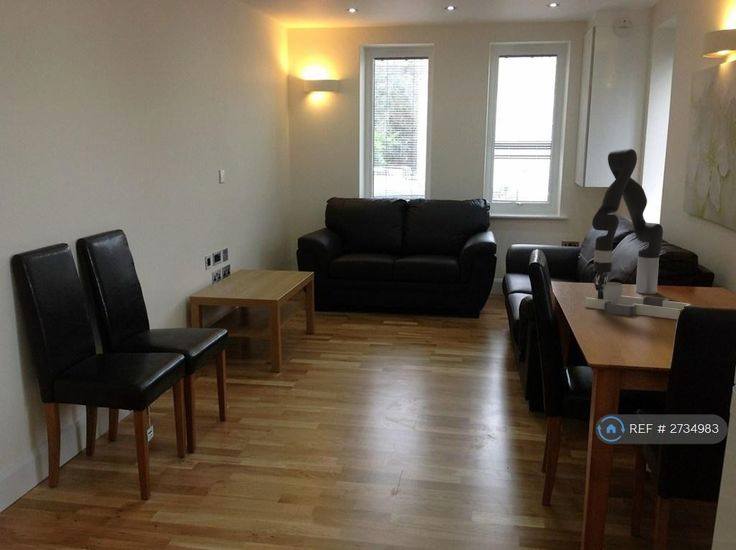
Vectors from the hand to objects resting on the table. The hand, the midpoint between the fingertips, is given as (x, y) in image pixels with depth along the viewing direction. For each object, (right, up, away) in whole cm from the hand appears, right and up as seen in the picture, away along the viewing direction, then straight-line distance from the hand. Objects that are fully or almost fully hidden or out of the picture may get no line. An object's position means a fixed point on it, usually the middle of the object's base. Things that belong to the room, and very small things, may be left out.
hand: (600, 299), depth 282 cm
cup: (+4, -3, -2) cm, 6 cm away
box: (+12, -4, -9) cm, 16 cm away
